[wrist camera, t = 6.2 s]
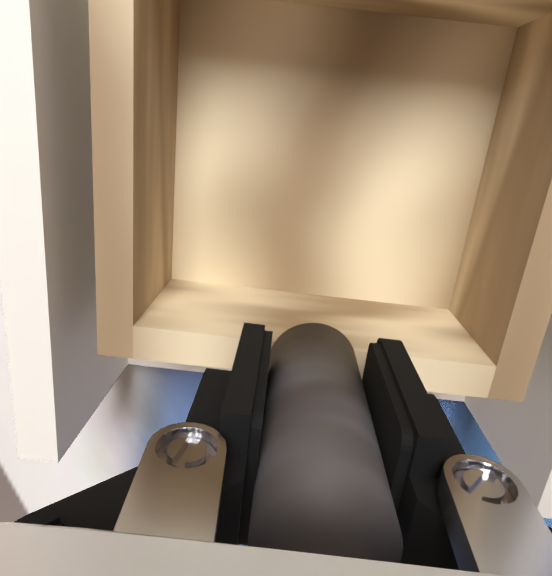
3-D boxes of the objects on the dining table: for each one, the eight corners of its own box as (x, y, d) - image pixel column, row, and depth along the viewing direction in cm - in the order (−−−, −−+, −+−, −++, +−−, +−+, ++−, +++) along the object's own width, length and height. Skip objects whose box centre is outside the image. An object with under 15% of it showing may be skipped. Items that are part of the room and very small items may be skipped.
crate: (547, -1, 14) (1248, -356, 4) (458, 345, 18) (680, 644, 8) (155, -44, 14) (-232, -511, 4) (150, 311, 18) (-49, 561, 8)
